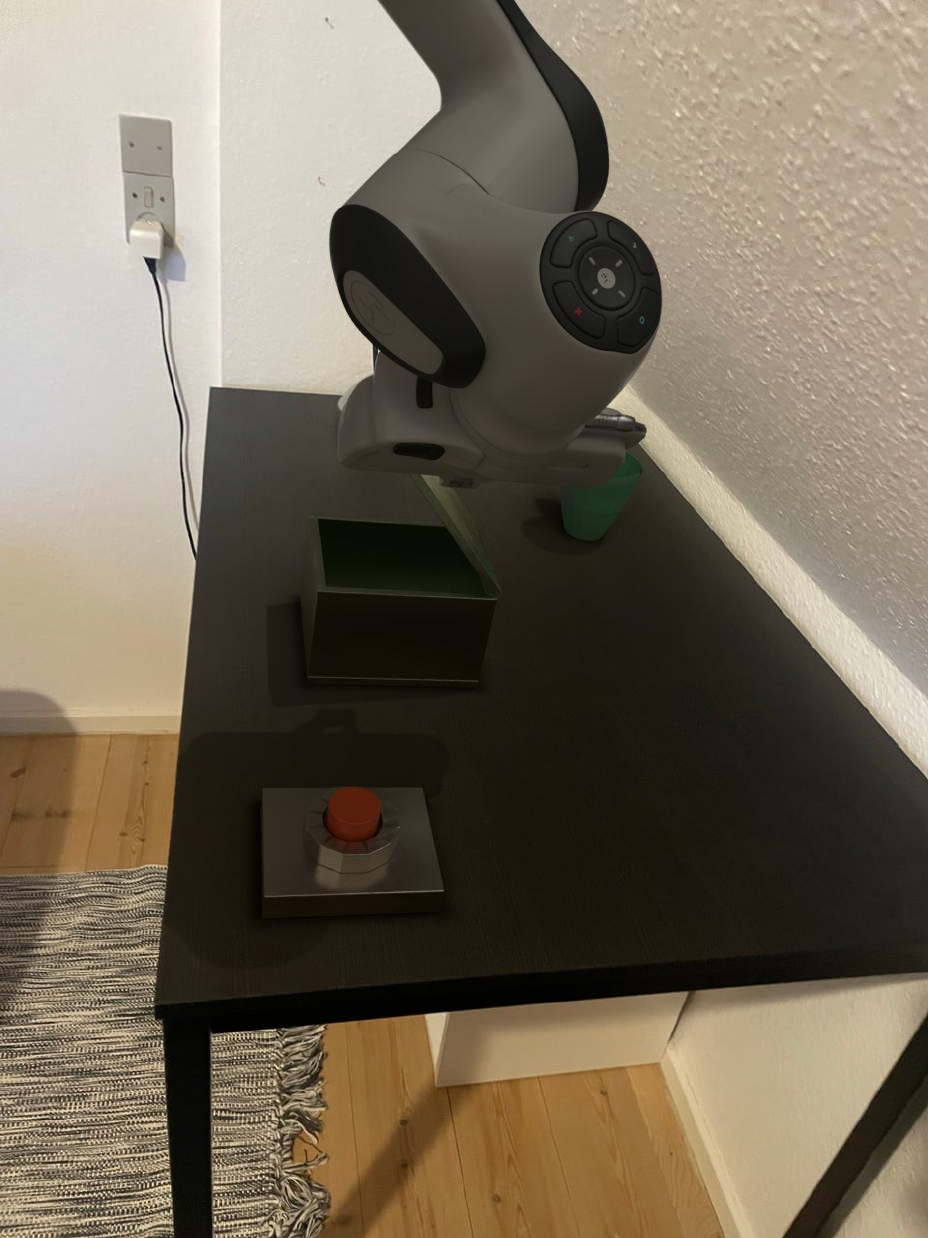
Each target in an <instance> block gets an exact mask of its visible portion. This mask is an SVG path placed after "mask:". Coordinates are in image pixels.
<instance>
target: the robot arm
mask: <svg viewBox="0 0 928 1238" xmlns="http://www.w3.org/2000/svg"><path fill="white" fill-rule="evenodd" d="M376 1H377V2H378V4H379V5H380V7H381V8H382V9H383V10H384V12H385V13H386V14H387V16H388V17H389V18H390V20H391V21H392V22H393V23H394V25H395V27H396V28H397V29H398V30H399V31H400V33H401V34H402V35H403V37H404V38H405V40H406V41H407V42H408V43H409V45H410V46H411V48H412V49H413V50H414V51H415V53H416V54H417V55H418V57H420V60H422V62H423V64H424V65H425V66H426V67H427V68H428V70H429V71H430V72H431V74H432V75H433V78H434V79H435V81H436V82H437V85H438V90H439V93H440V94H439V97H440V106H439V110H438V111H437V112H435V114H434V115H433V116H432V117H431V118H430V119H429V120H428V121H427V122H426V123H425V124H424V125H423V126H422V127H421V128H420V129H419V130H418V131H417V132H416V133H415V134H414V135H413V136H412V137H411V138H410V139H409V140H408V141H407V142H406V143H405V144H404V145H403V146H402V147H401V148H400V149H399V150H398V151H397V152H395V153H393V154H392V155H391V156H390V157H389V158H387V159H386V160H385V161H384V162H383V163H382V164H381V165H380V166H379V167H378V168H377V169H376V170H375V171H374V172H373V173H372V174H371V175H370V177H368V178H367V179H366V180H365V181H364V182H363V183H362V184H361V185H360V186H359V187H358V188H357V190H356V191H355V192H353V193H352V194H351V196H349V198H348V199H347V200H346V201H345V202H344V203H343V204H342V205H341V206H340V207H339V208H337V209H336V211H334V213H333V215H332V218H331V221H330V225H329V232H328V233H329V234H328V252H329V260H330V266H331V270H332V274H333V279H334V282H335V285H336V289H337V292H338V295H339V298H340V301H341V303H342V306H343V308H344V310H345V313H346V315H347V316H348V318H349V320H351V322H352V324H353V325H354V326H355V328H356V329H357V330H358V331H359V332H360V334H362V336H364V338H365V339H366V340H367V341H369V342H370V343H371V345H373V346H374V348H376V349H377V350H378V351H379V352H377V354H376V358H375V361H374V363H375V364H374V368H373V374H372V375H369V376H366V377H365V378H363V379H361V380H360V381H358V383H357V384H356V385H355V386H354V387H353V390H352V391H351V392H350V394H349V395H348V397H347V398H346V400H345V402H344V404H343V406H342V409H341V411H340V414H339V417H338V422H337V423H338V424H337V442H336V443H337V444H336V445H337V446H336V449H337V450H336V451H337V462H338V464H339V465H341V466H342V467H344V468H346V469H349V470H352V471H353V470H354V471H370V472H383V473H396V474H407V475H409V474H418V475H431V476H439V477H440V486H442V487H452V488H455V489H456V488H458V489H459V488H461V489H467V490H468V489H469V490H477V489H478V488H479V487H480V485H482V484H488V483H491V482H495V481H496V482H507V483H520V484H531V485H546V486H555V487H556V486H557V487H560V486H568V487H580V488H593V487H598V486H602V485H604V484H606V483H607V482H608V481H609V480H610V479H611V478H612V477H613V476H614V475H615V474H616V473H617V471H618V470H619V469H620V467H621V466H622V464H623V462H624V460H625V451H626V450H629V449H632V448H634V447H636V446H637V445H638V444H639V443H641V442H642V441H643V440H645V438H646V437H647V436H646V435H647V432H648V429H647V427H646V424H645V423H641V422H639V421H637V420H636V418H635V417H634V416H632V415H629V414H624V413H622V412H621V411H620V410H618V409H615V408H612V407H608V406H609V405H610V404H611V403H612V402H613V401H614V400H615V399H616V398H617V397H618V395H619V394H620V393H621V392H622V391H623V390H624V389H625V388H626V387H627V385H628V384H629V383H630V381H631V380H632V379H633V378H634V376H635V375H636V373H637V372H638V370H639V369H640V367H641V366H642V365H643V362H644V361H645V360H646V359H647V356H648V354H649V353H650V351H651V348H652V346H653V344H654V342H655V340H656V337H657V334H658V331H659V327H660V323H661V318H662V313H663V286H662V280H661V274H660V271H659V268H658V265H657V263H656V260H655V257H654V254H653V253H652V251H651V249H650V248H649V246H648V244H647V243H646V242H645V240H644V239H643V238H642V237H641V235H639V234H638V232H637V231H635V229H633V227H632V226H630V225H628V224H627V223H626V222H624V221H623V220H621V219H620V218H618V217H616V216H614V215H611V214H609V213H605V212H602V211H597V210H595V208H596V207H597V206H598V204H599V203H600V202H601V200H602V198H603V197H604V195H605V192H606V189H607V185H608V180H609V175H610V153H609V152H610V150H609V140H608V136H607V130H606V126H605V122H604V119H603V116H602V113H601V110H600V107H599V106H598V103H597V102H596V99H595V98H594V95H593V94H592V93H591V92H590V90H589V88H588V87H587V86H586V84H584V82H583V81H582V79H581V78H580V77H579V76H578V75H577V73H576V72H575V71H574V70H573V69H572V68H571V67H570V66H569V65H568V64H567V62H565V61H564V60H563V59H562V57H560V55H558V53H556V51H554V50H553V48H552V47H550V45H549V44H548V43H547V42H546V41H545V39H544V38H543V37H542V36H541V35H540V34H539V33H538V31H537V30H536V28H535V27H534V26H533V25H532V23H531V22H530V20H529V19H528V17H527V16H526V15H525V13H524V12H523V11H522V9H521V8H520V6H519V5H518V3H517V2H516V0H376Z"/></svg>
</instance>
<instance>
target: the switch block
mask: <svg viewBox="0 0 928 1238" xmlns="http://www.w3.org/2000/svg"><path fill="white" fill-rule="evenodd" d="M347 787H348V786H334V787H262V789H261V798H260V863H261V865H260V866H261V867H260V869H261V872H260V873H261V918H262V919H287V918H315V917H341V916H343V917H344V916H366V915H369V916H370V915H394V914H395V915H397V914H419V913H421V914H422V913H424V914H425V913H439V912H440V911H441V908H442V907H441V906H442V902H443V899H444V898H443V897H444V894H445V888H444V884H443V879H442V873H441V869H440V864H439V859H438V854H437V850H436V849H437V848H436V845H435V841H434V836H433V830H432V826H431V821H430V816H429V811H428V807H427V803H426V797H425V792H424V788H423V787H422V786H421V787H417V786H416V787H414V786H410V787H408V786H407V787H405V786H404V787H400V786H399V787H397V786H396V787H394V786H393V787H391V786H390V787H387V786H386V787H364V786H358V787H359V788H363V789H366V790H368V791H370V792H372V793H373V794H374V795H375V796H376V797H377V798H378V800H379V802H380V805H381V811H380V817H379V823H378V828H377V830H376V832H375V833H374V834H373V835H372V836H371V837H370V838H368V839H366V840H363V841H358V842H350V841H345V840H342V839H339V838H337V837H336V836H334V835H333V834H332V833H331V832H330V830H329V829H328V827H327V823H326V819H327V812H328V804H329V800H330V798H331V796H332V795H333V794H334V793H335V792H337V791H338V790H340V789H343V788H347Z"/></svg>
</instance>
